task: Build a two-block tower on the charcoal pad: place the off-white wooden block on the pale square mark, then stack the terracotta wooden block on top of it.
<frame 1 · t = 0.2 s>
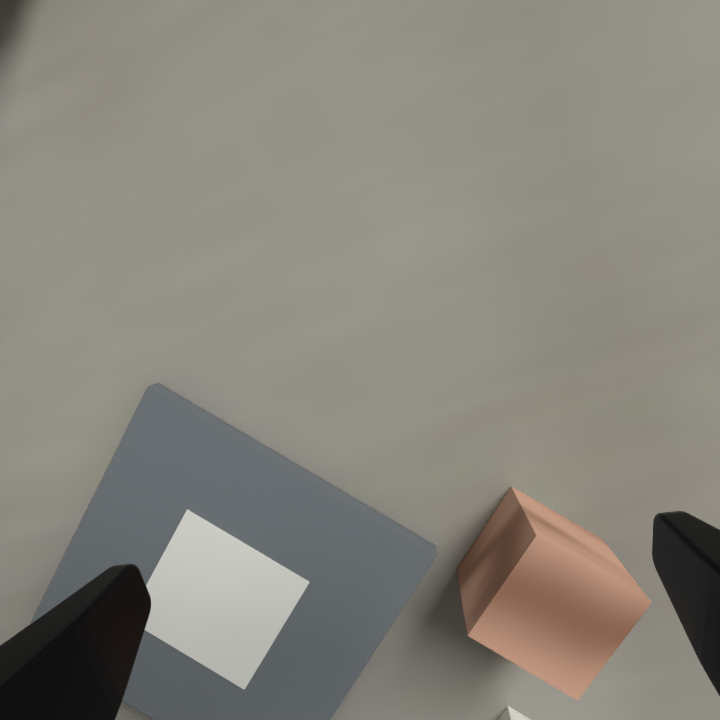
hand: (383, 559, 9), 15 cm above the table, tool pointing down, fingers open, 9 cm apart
blueprint pad: (224, 589, 26), on the table
terracotta block: (527, 553, 24), on the table
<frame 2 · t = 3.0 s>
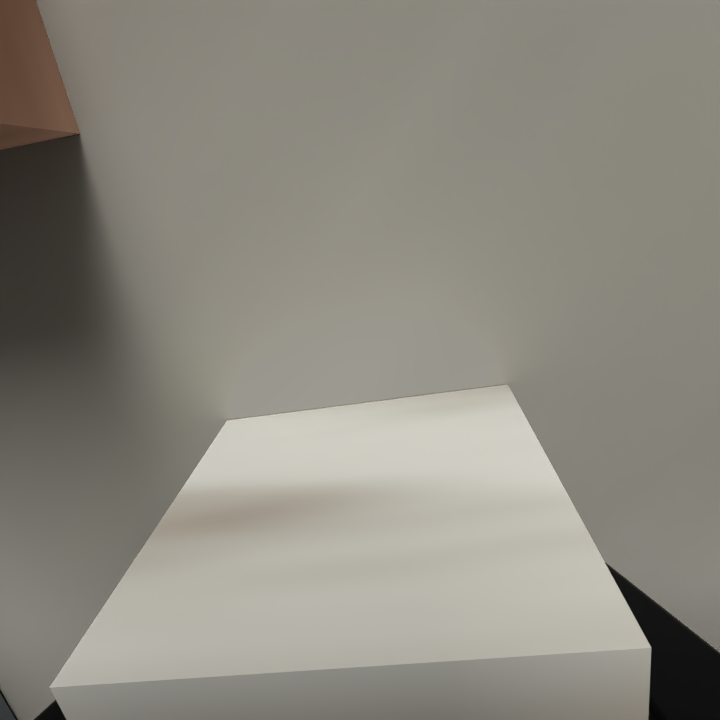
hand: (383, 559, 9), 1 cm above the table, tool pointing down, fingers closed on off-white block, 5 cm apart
off-white block: (384, 519, 10), on the table, touching gripper
when the fingers open (3 cm above the table, at t = 7.6 s): off-white block drops 1 cm, resting on blueprint pad.
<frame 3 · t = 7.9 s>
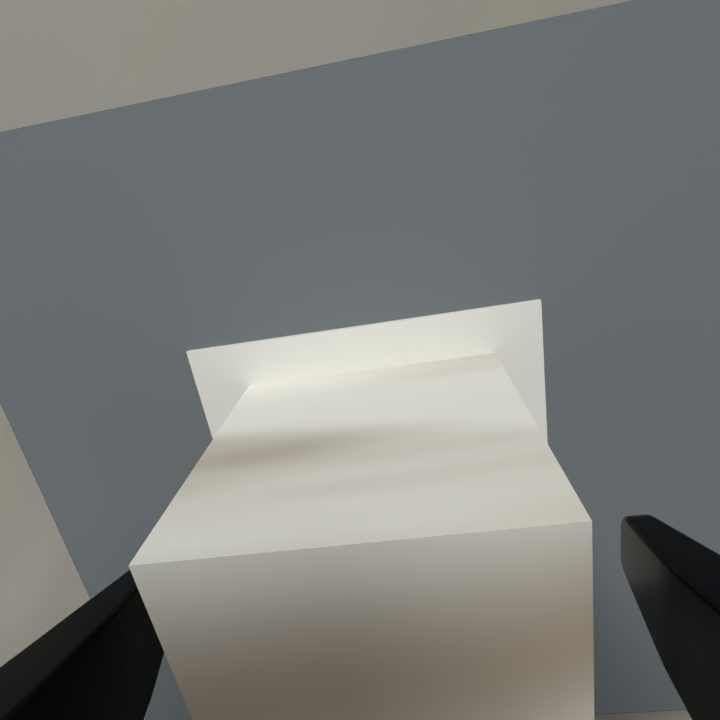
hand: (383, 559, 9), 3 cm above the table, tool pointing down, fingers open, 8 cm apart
blueprint pad: (384, 453, 12), on the table
off-white block: (386, 475, 11), point 1 cm above the table, touching blueprint pad
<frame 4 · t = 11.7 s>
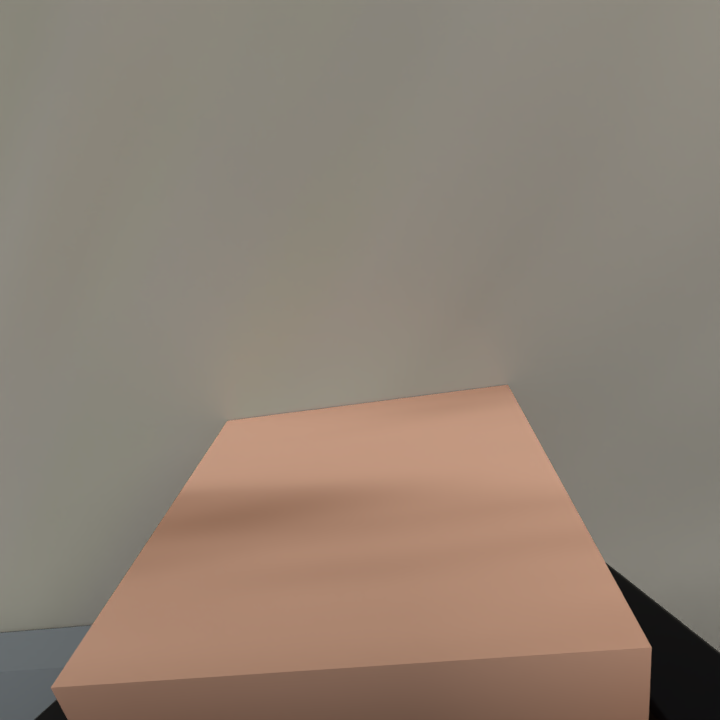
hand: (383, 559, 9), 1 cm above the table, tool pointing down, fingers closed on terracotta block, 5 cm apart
terracotta block: (384, 519, 10), on the table, touching gripper
when the fingers open (8 cm above the table, at t = 15.6 s): terracotta block stays where it is, resting on off-white block.
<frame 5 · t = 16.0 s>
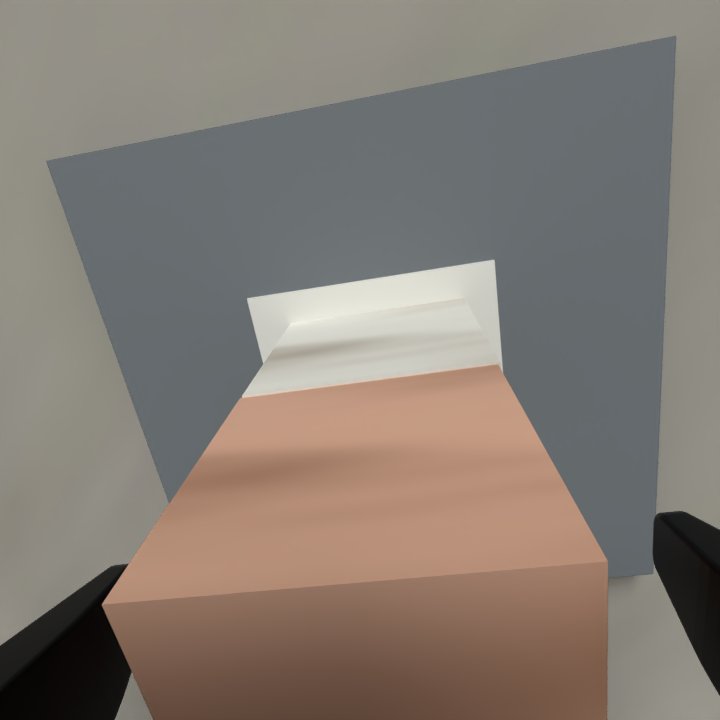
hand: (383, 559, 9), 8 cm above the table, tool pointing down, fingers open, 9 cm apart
blueprint pad: (386, 379, 16), on the table
terracotta block: (384, 491, 10), point 6 cm above the table, touching off-white block
off-white block: (388, 390, 15), point 1 cm above the table, touching blueprint pad, terracotta block
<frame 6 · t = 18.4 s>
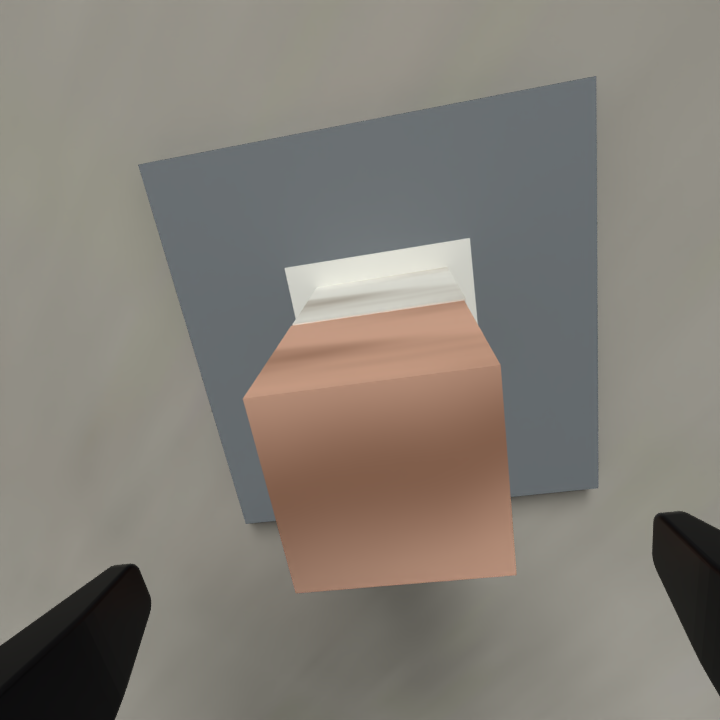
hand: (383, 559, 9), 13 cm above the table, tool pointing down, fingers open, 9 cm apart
blueprint pad: (389, 333, 21), on the table
terracotta block: (388, 392, 15), point 6 cm above the table, touching off-white block
off-white block: (390, 339, 20), point 1 cm above the table, touching blueprint pad, terracotta block
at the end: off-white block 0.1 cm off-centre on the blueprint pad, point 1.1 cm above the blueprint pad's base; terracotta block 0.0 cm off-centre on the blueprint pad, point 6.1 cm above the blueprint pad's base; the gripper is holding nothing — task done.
